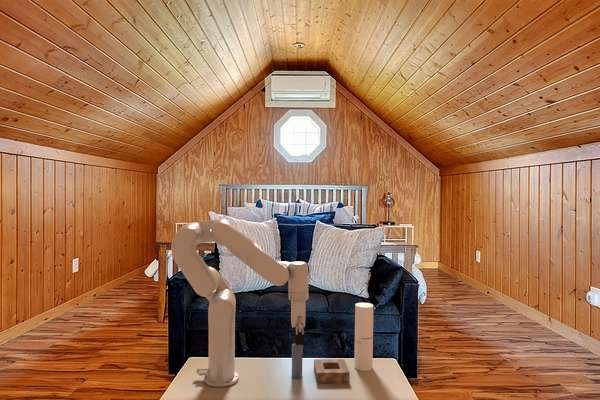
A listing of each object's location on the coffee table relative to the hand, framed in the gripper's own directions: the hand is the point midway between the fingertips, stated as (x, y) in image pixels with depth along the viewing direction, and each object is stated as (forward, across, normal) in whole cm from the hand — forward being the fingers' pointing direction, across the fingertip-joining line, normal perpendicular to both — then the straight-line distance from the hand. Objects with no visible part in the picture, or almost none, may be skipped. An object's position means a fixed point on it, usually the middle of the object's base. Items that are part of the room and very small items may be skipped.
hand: (299, 339), depth 158 cm
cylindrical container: (+15, -8, +26) cm, 31 cm away
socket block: (+14, 0, +12) cm, 19 cm away
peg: (+14, 0, -1) cm, 14 cm away
